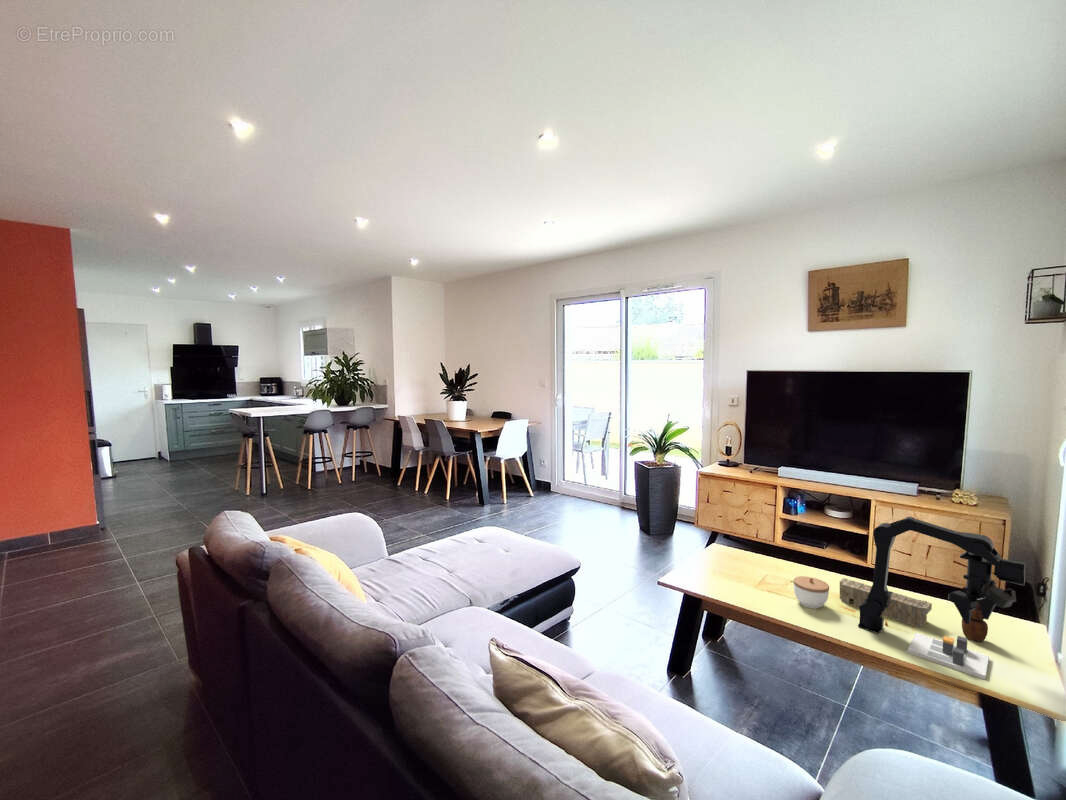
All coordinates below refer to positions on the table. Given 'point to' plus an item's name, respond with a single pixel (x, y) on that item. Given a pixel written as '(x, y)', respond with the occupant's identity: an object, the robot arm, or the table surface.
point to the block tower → (898, 609)
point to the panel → (958, 660)
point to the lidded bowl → (811, 591)
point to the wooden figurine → (975, 626)
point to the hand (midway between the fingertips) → (976, 621)
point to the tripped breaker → (948, 645)
